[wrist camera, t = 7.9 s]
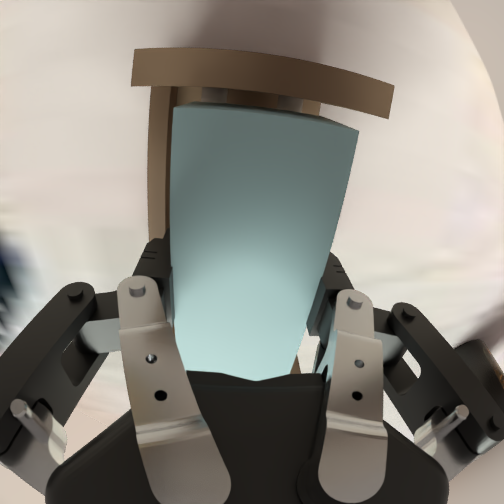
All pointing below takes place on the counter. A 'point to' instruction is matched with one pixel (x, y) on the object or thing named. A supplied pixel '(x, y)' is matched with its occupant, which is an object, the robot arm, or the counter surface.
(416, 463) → the robot arm
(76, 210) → the counter surface
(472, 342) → the jar
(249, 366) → the light teal block
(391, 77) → the counter surface
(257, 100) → the shelf rack
